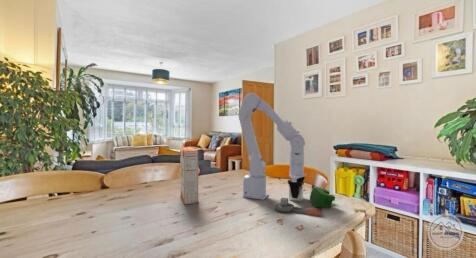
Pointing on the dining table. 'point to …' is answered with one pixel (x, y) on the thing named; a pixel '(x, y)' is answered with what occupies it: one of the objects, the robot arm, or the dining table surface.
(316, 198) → the clamp
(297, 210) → the ratchet
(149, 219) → the dining table surface
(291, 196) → the socket
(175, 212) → the dining table surface
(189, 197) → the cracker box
